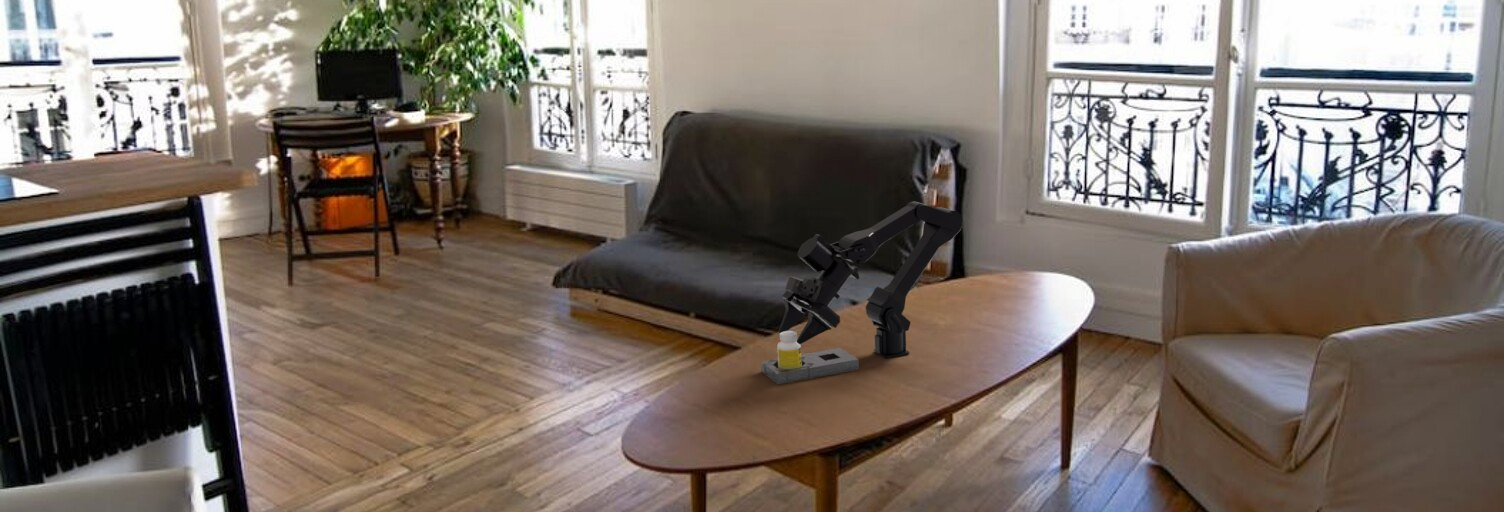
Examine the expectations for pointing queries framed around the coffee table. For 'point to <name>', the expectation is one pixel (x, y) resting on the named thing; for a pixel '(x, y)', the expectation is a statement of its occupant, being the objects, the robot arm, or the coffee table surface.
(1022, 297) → the coffee table surface
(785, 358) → the supplement bottle
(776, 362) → the socket plate
